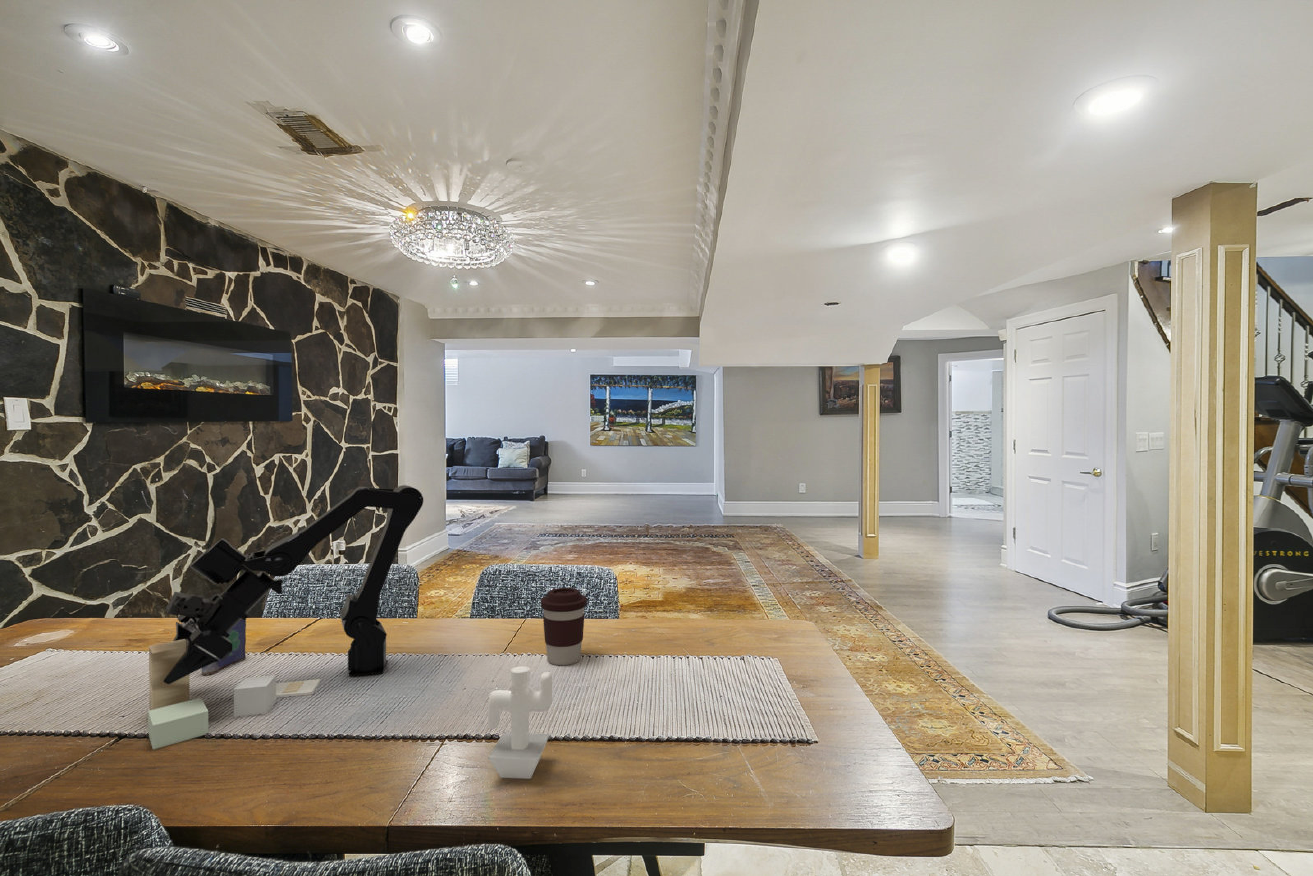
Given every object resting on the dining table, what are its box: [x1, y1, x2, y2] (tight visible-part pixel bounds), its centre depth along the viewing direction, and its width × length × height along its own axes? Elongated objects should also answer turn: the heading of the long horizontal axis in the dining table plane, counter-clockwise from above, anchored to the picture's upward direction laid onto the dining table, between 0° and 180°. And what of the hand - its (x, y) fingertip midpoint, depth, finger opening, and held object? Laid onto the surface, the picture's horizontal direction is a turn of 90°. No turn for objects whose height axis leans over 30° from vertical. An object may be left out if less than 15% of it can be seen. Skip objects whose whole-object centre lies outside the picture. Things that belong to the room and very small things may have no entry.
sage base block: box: [147, 697, 209, 750], centre depth 98 cm, size 7×7×4 cm
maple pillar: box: [148, 639, 191, 711], centre depth 105 cm, size 5×5×12 cm
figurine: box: [487, 665, 553, 780], centre depth 88 cm, size 7×9×15 cm
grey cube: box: [233, 674, 277, 718], centre depth 107 cm, size 5×5×5 cm
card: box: [276, 678, 322, 699], centre depth 115 cm, size 8×6×1 cm
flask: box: [201, 618, 247, 676], centre depth 127 cm, size 10×3×12 cm, turn 172°
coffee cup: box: [540, 587, 588, 666], centre depth 130 cm, size 10×10×15 cm
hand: (162, 675), depth 105 cm, fingers open, 9 cm apart
